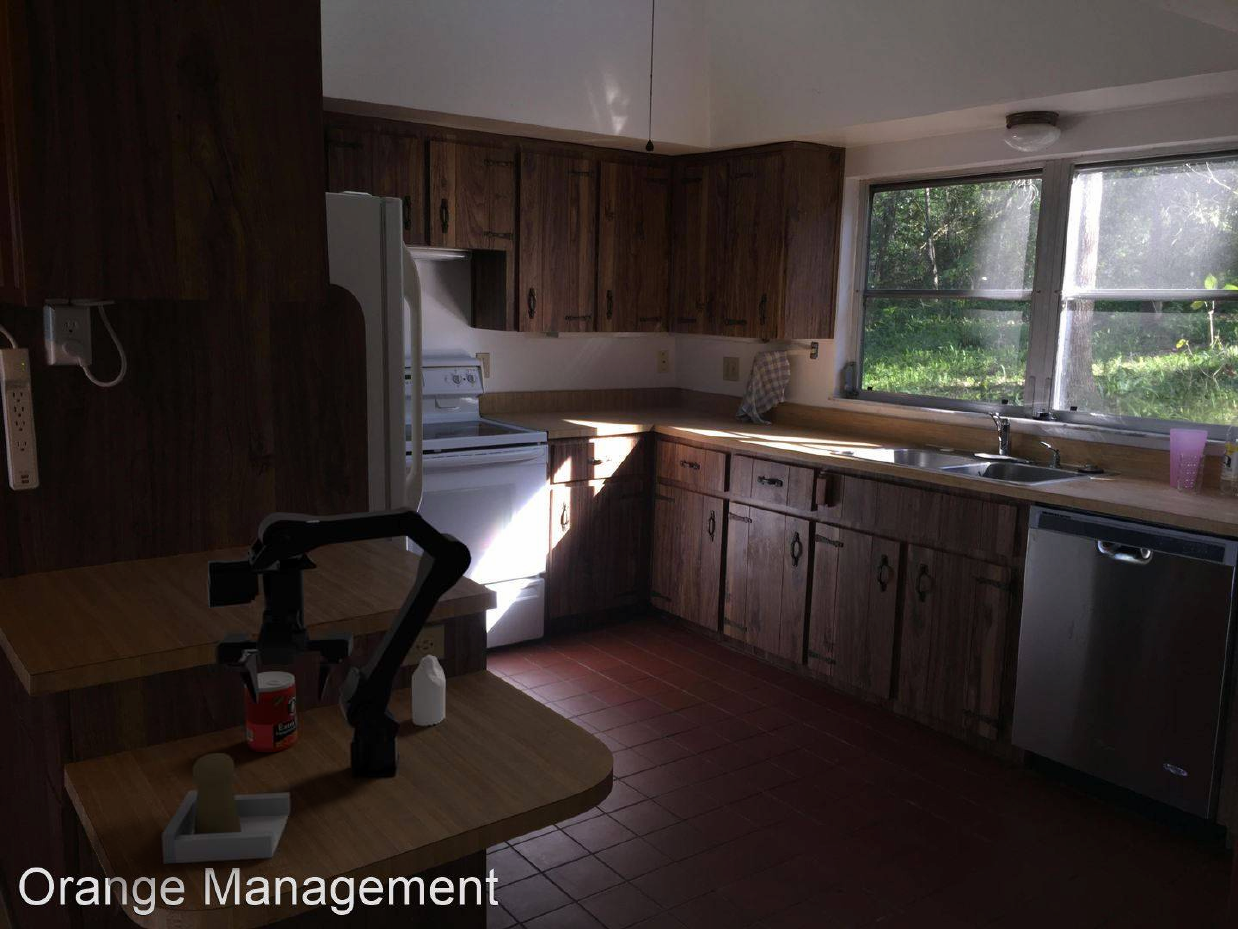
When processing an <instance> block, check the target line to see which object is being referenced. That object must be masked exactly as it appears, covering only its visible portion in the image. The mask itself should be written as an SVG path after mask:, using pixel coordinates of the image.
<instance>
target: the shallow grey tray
mask: <svg viewBox="0 0 1238 929" xmlns="http://www.w3.org/2000/svg"><path fill="white" fill-rule="evenodd" d="M197 791H198V789H195V790H189V791H188V793H187V794H186V796H185V798H184V799H183V800H182V802H181V803H180V805H179V807H178V809H176V812H175V813H174V815H173V816H172V818H171V819H170V821H169V822H168V824H167V826H166V827H165V829H164V830H163V832H162V833H161V839H162V840H161V841H162V857H163V858H162V859H163V865H164V864H179V863H181V864H182V863H184V864H185V863H199V862H213V861H214V862H217V861H232V860H234V861H235V860H252V859H270V858H273V856H274V853H275V851H276V849H277V846H278V844H279V842H280V839H281V836H282V834H283V832H284V830H285V826H286V825H285V824H287V822H288V820H287V819H289V817H290V815H291V796H290V794H291V793H290V792H275V793H254V794H252V793H251V794H234V797H235V802H236V807H237V812H238V817H239V822H240V826H241V832H231V833H212V834H194V826H195V814H196V803H197ZM289 814H290V815H289ZM288 816H289V817H288Z"/></svg>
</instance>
